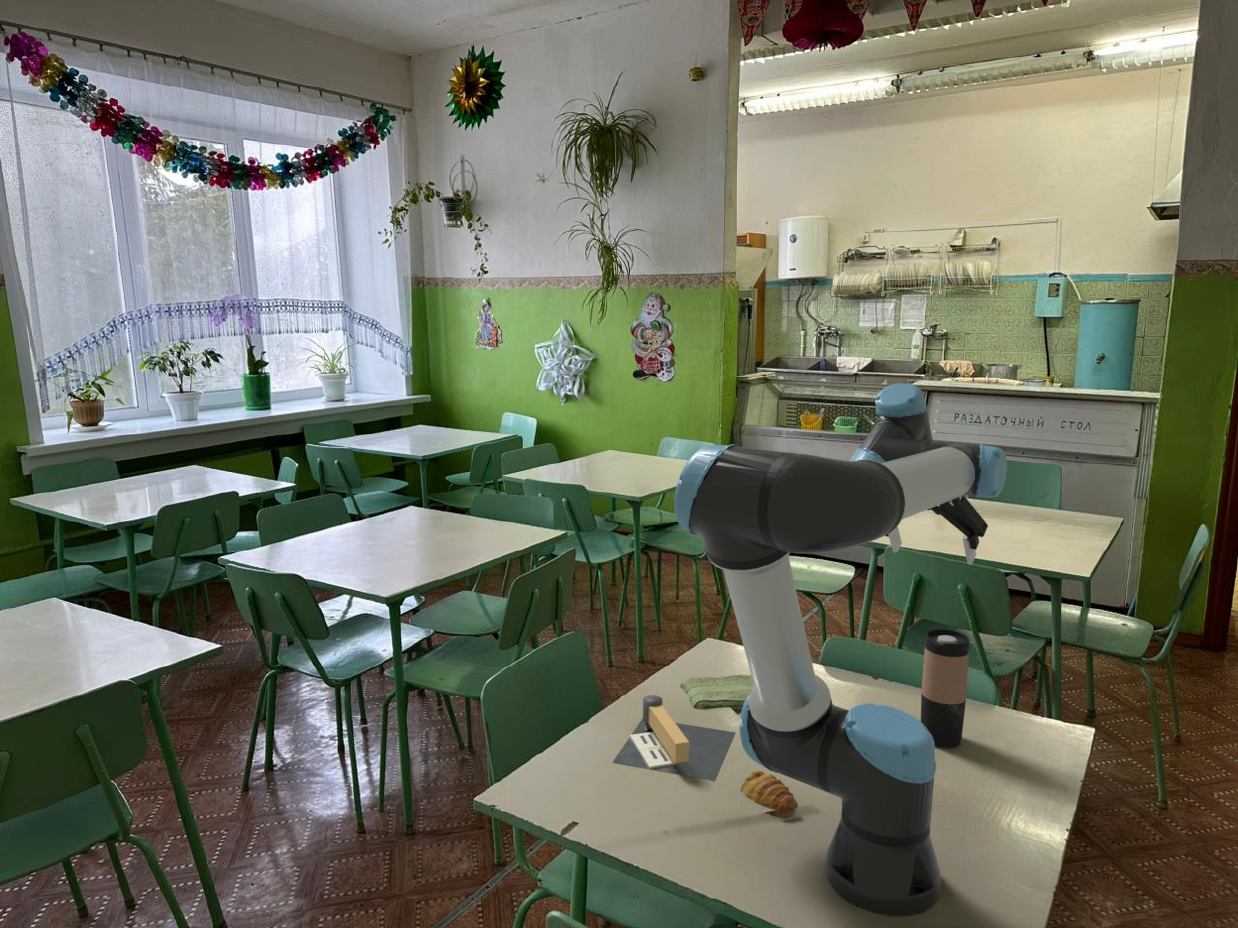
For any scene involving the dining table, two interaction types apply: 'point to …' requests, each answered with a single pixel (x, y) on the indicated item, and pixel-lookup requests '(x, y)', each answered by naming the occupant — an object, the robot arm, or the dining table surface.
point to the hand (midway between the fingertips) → (933, 553)
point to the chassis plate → (703, 751)
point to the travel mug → (945, 686)
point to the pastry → (769, 793)
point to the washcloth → (718, 691)
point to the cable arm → (665, 728)
